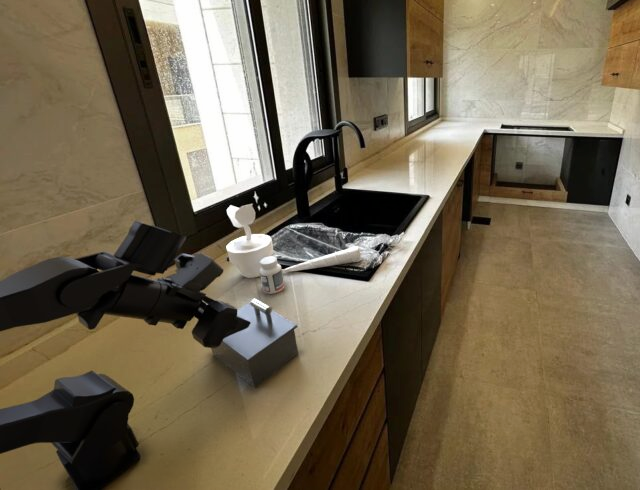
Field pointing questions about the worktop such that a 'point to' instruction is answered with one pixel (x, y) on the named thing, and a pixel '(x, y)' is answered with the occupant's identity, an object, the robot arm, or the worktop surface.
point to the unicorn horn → (329, 260)
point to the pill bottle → (271, 275)
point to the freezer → (259, 360)
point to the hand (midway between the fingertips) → (234, 315)
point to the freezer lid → (258, 330)
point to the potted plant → (247, 242)
